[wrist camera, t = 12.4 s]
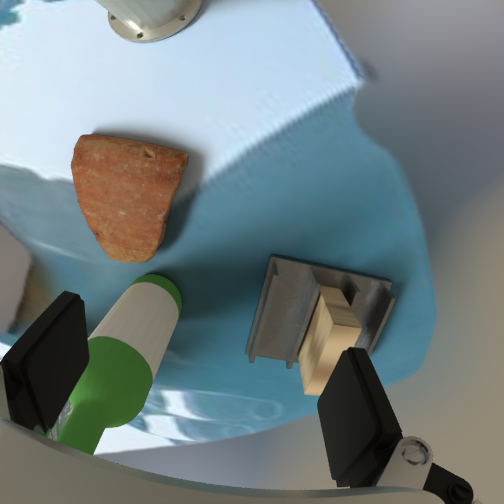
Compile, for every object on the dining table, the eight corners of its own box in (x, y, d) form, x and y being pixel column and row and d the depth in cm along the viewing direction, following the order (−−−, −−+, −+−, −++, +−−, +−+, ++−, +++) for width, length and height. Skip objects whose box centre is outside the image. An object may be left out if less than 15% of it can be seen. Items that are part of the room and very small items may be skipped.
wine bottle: (172, 264, 39) (57, 464, 11) (192, 315, 42) (128, 523, 13) (122, 278, 40) (-10, 445, 12) (143, 325, 42) (54, 504, 14)
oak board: (317, 284, 39) (333, 324, 30) (340, 289, 39) (361, 328, 30) (296, 347, 42) (304, 394, 33) (317, 350, 42) (329, 396, 33)
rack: (270, 254, 39) (272, 265, 35) (389, 279, 40) (401, 292, 36) (245, 349, 43) (244, 367, 40) (352, 365, 44) (358, 381, 41)
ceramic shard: (52, 247, 33) (75, 129, 31) (80, 240, 40) (102, 137, 37) (148, 284, 33) (181, 147, 30) (169, 271, 39) (198, 156, 36)
